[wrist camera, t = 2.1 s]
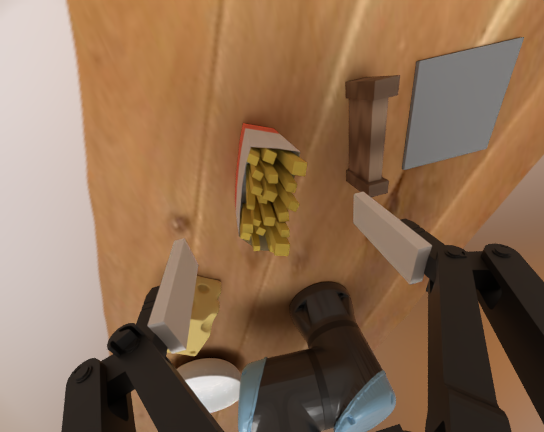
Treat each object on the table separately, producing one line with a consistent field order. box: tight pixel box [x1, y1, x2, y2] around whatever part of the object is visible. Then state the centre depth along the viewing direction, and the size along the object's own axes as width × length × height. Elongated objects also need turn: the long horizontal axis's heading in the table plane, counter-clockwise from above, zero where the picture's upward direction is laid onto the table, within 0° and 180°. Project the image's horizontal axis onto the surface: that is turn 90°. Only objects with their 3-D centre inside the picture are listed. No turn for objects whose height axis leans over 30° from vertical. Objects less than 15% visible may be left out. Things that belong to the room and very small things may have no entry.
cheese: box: [167, 276, 221, 356], centre depth 40 cm, size 10×11×10 cm
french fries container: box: [235, 123, 307, 256], centre depth 26 cm, size 5×11×18 cm, turn 169°
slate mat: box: [402, 37, 524, 170], centre depth 35 cm, size 16×16×1 cm
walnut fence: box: [346, 75, 400, 197], centre depth 31 cm, size 15×3×7 cm, turn 11°
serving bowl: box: [176, 358, 241, 413], centre depth 57 cm, size 21×21×7 cm
